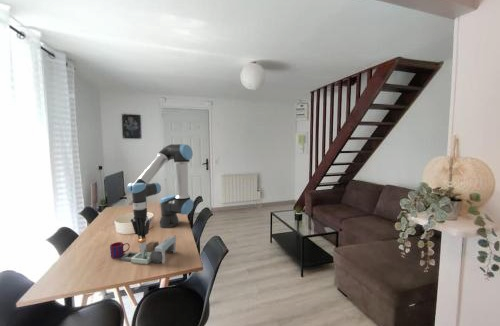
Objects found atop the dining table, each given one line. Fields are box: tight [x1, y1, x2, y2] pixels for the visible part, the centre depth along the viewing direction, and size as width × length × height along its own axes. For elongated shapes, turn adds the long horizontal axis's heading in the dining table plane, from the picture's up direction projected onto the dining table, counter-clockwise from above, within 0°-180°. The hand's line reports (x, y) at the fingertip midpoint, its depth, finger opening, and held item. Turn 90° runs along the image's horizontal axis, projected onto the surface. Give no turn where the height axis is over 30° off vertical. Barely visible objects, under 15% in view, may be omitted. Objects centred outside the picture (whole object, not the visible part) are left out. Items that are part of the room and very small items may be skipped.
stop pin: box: [137, 236, 148, 259], centre depth 130 cm, size 4×4×12 cm
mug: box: [109, 241, 131, 259], centre depth 136 cm, size 7×10×7 cm
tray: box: [130, 251, 152, 265], centre depth 130 cm, size 8×10×2 cm
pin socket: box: [120, 251, 139, 262], centre depth 133 cm, size 7×7×2 cm
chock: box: [146, 240, 160, 253], centre depth 141 cm, size 6×4×5 cm
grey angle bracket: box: [150, 234, 177, 264], centre depth 133 cm, size 14×8×10 cm, turn 169°
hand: (142, 245), depth 143 cm, fingers closed
